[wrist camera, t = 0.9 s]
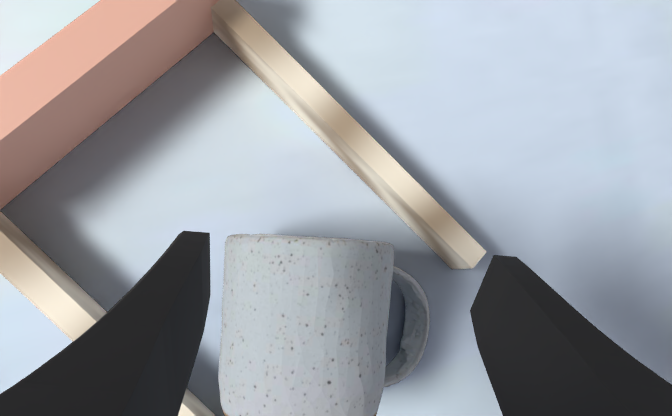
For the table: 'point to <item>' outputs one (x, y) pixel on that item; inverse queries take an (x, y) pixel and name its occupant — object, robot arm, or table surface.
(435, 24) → the table surface
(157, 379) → the robot arm
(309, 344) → the ceramic mug
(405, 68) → the table surface
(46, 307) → the rails
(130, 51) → the end stop
